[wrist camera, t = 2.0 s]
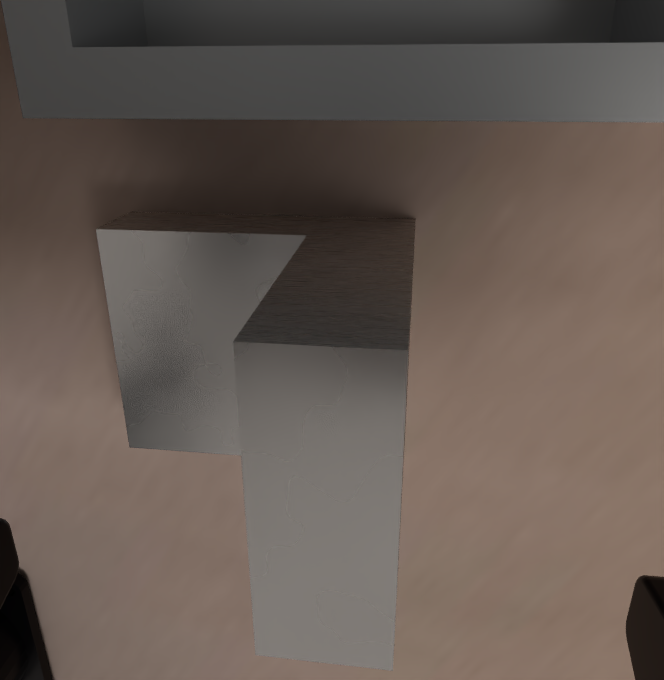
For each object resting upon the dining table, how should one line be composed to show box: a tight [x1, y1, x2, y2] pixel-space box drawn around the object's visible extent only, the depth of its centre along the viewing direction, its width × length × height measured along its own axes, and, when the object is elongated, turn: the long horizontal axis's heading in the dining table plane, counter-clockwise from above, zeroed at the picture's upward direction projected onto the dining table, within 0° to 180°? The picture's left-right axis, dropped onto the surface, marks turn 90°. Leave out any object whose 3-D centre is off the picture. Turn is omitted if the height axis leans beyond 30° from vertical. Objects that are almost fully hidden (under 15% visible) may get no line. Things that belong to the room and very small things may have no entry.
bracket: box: [96, 211, 416, 671], centre depth 14 cm, size 6×7×8 cm
